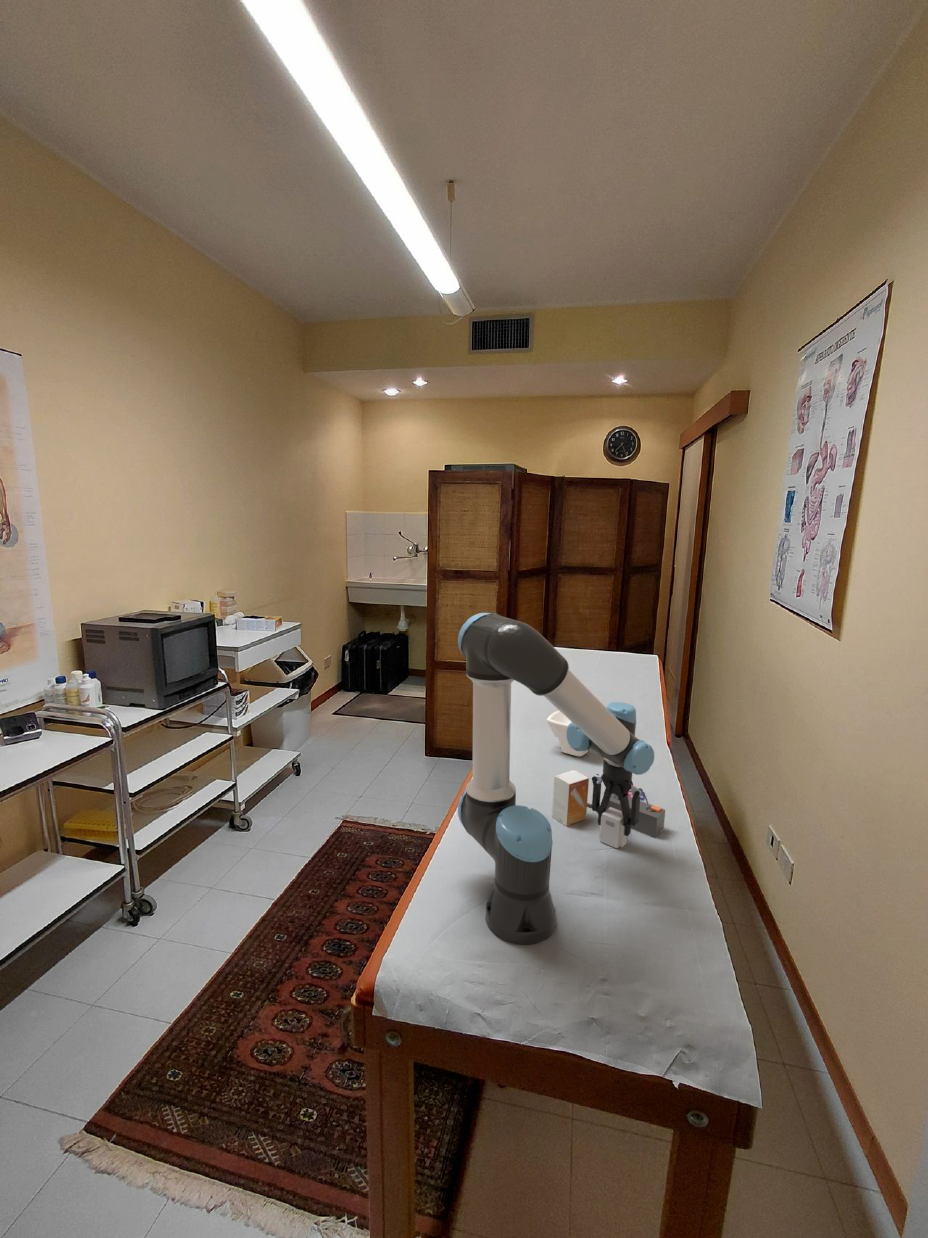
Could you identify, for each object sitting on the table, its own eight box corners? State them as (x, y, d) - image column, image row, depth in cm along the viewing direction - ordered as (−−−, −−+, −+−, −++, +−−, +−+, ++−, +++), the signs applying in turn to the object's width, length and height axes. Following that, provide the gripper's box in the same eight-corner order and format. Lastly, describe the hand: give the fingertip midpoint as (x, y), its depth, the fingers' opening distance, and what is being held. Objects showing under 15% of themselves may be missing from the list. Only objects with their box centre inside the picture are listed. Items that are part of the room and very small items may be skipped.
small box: (566, 827, 154) (569, 784, 152) (551, 817, 159) (553, 775, 157) (586, 819, 158) (589, 777, 156) (571, 809, 164) (573, 769, 161)
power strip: (655, 838, 149) (657, 816, 148) (577, 807, 165) (579, 787, 164) (663, 829, 154) (665, 807, 153) (587, 800, 169) (588, 780, 168)
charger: (617, 848, 143) (619, 820, 142) (599, 841, 147) (601, 814, 145) (630, 835, 150) (633, 808, 149) (613, 828, 153) (615, 802, 152)
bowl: (562, 739, 218) (564, 706, 216) (608, 751, 207) (611, 716, 205) (540, 754, 203) (542, 718, 201) (589, 768, 192) (591, 731, 190)
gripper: (657, 766, 140) (651, 847, 144) (593, 747, 151) (589, 822, 156) (645, 776, 134) (639, 860, 139) (580, 755, 146) (576, 834, 150)
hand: (613, 840), depth 147 cm, fingers closed on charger, 5 cm apart
